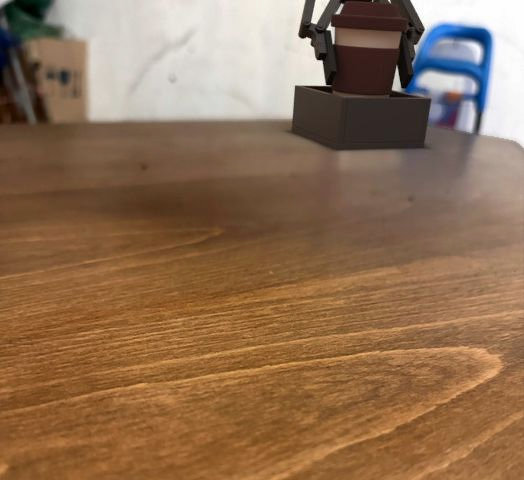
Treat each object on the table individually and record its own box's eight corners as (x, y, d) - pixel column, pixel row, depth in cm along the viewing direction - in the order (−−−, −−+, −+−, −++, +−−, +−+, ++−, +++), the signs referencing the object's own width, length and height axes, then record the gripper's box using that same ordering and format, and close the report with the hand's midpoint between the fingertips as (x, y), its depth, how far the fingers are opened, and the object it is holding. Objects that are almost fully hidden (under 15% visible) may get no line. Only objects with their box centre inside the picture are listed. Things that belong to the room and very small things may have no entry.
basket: (371, 131, 102) (376, 86, 99) (423, 148, 91) (431, 98, 88) (291, 133, 97) (294, 85, 94) (336, 151, 86) (342, 98, 83)
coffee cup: (308, 122, 92) (318, -1, 85) (343, 115, 99) (355, 2, 92) (373, 132, 87) (389, 2, 80) (404, 125, 94) (422, 5, 87)
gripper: (412, -24, 100) (437, 101, 93) (265, -35, 96) (280, 95, 89) (433, -69, 93) (461, 63, 86) (275, -83, 89) (292, 55, 82)
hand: (369, 80), depth 88 cm, fingers closed on coffee cup, 10 cm apart
